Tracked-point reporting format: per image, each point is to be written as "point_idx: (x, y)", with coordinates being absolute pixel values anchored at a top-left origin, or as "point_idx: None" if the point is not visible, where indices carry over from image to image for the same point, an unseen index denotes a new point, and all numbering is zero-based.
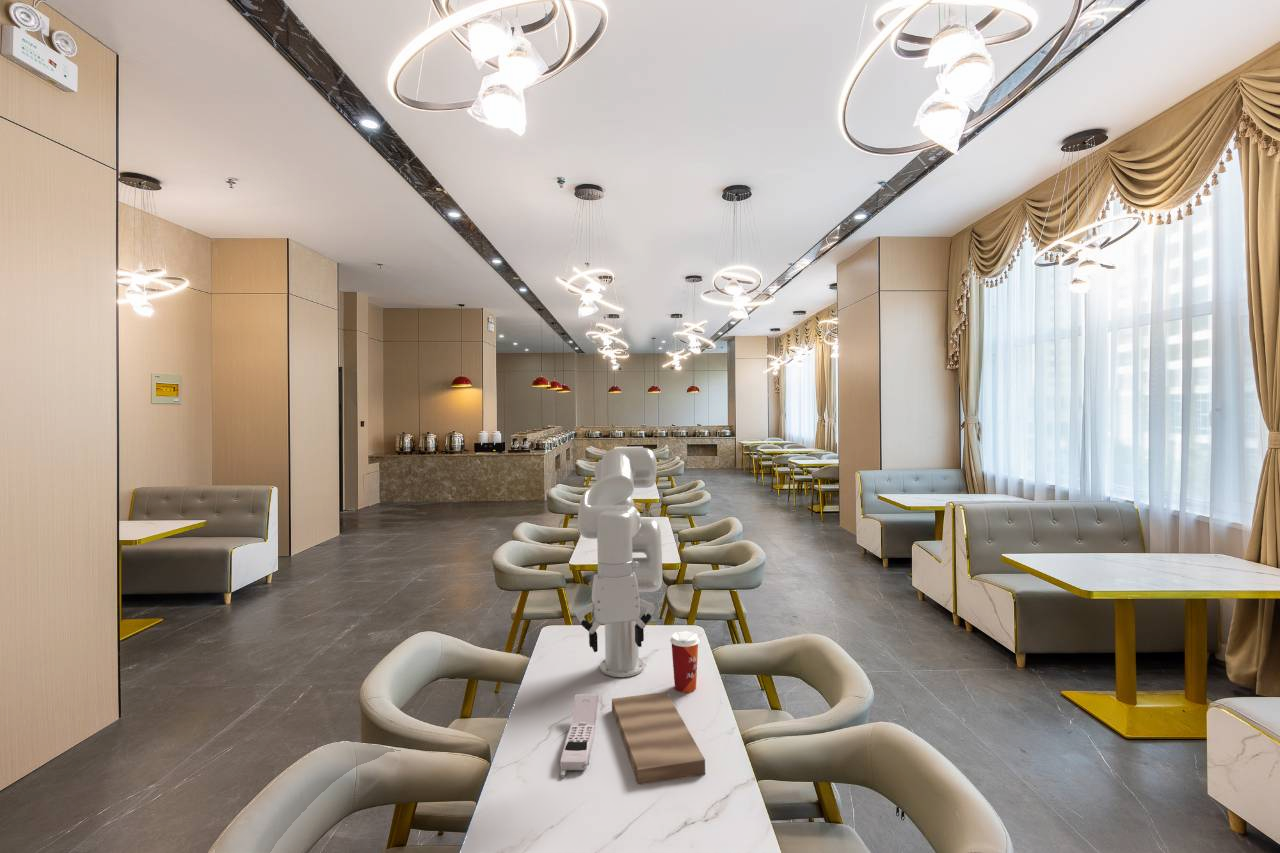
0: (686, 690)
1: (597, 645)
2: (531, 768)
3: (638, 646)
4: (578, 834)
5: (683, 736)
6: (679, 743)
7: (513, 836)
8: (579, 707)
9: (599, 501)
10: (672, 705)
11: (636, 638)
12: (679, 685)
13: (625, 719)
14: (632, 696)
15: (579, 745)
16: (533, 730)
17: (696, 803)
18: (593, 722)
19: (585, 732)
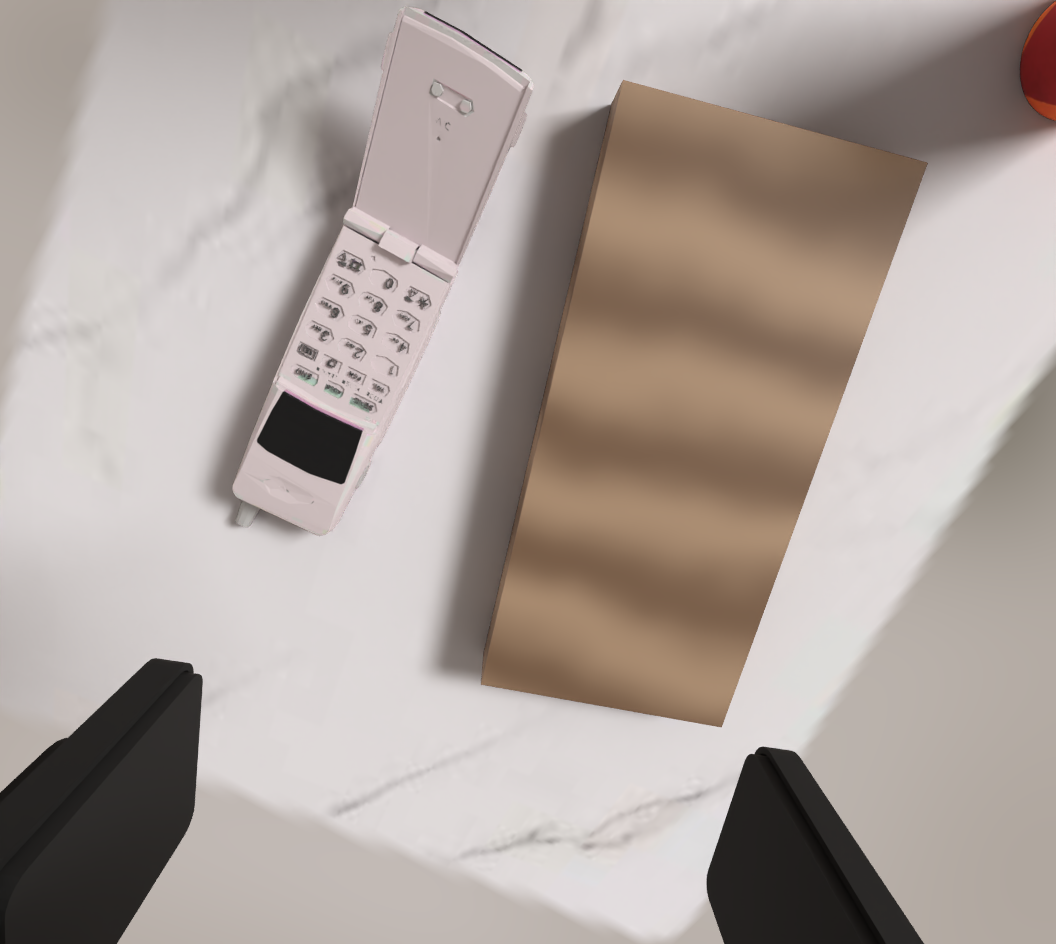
0: (1053, 113)
1: (146, 895)
2: (143, 407)
3: (712, 873)
4: (242, 767)
5: (743, 575)
6: (701, 609)
7: (58, 706)
8: (406, 123)
9: None
10: (861, 318)
11: (758, 883)
12: (1051, 75)
13: (592, 335)
14: (738, 115)
15: (323, 443)
16: (185, 99)
17: (601, 787)
18: (455, 249)
19: (386, 332)
